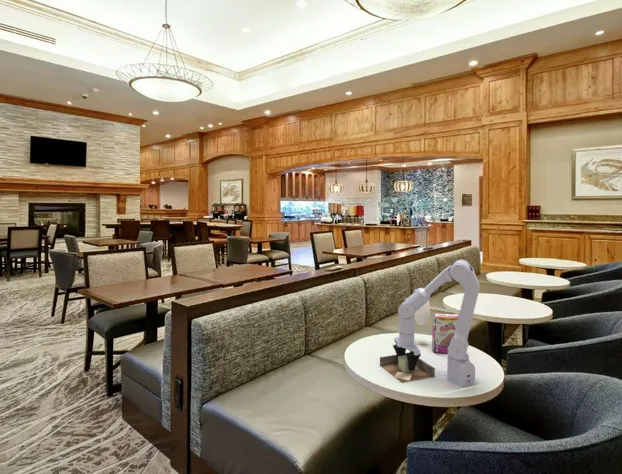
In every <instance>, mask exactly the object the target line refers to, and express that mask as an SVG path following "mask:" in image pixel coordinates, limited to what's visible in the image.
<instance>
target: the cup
mask: <svg viewBox="0 0 622 474" xmlns="http://www.w3.org/2000/svg"><path fill="white" fill-rule="evenodd" d="M430 316H431V306H430V300H429V301H428V302H427V303H425V304H424V305H423V306H422V307H421V308H420V309H419V310H416V312H415V313H414V322H415V323H417V324H418V325H419V326H421V327H422V326H423V327H424V326H425V325H426V324H428V323H429V320H430Z"/></svg>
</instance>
